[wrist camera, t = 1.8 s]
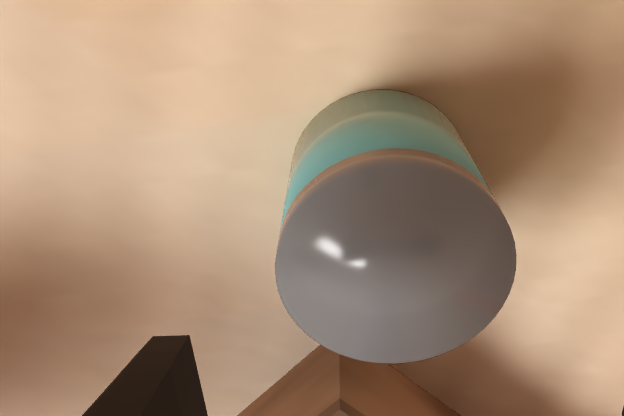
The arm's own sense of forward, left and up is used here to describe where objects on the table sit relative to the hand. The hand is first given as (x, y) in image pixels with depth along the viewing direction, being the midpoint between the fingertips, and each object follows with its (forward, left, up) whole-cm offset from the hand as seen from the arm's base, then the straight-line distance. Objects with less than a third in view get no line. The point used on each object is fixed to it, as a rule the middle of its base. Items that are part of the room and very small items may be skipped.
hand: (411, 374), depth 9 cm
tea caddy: (0, 0, -8) cm, 8 cm away
